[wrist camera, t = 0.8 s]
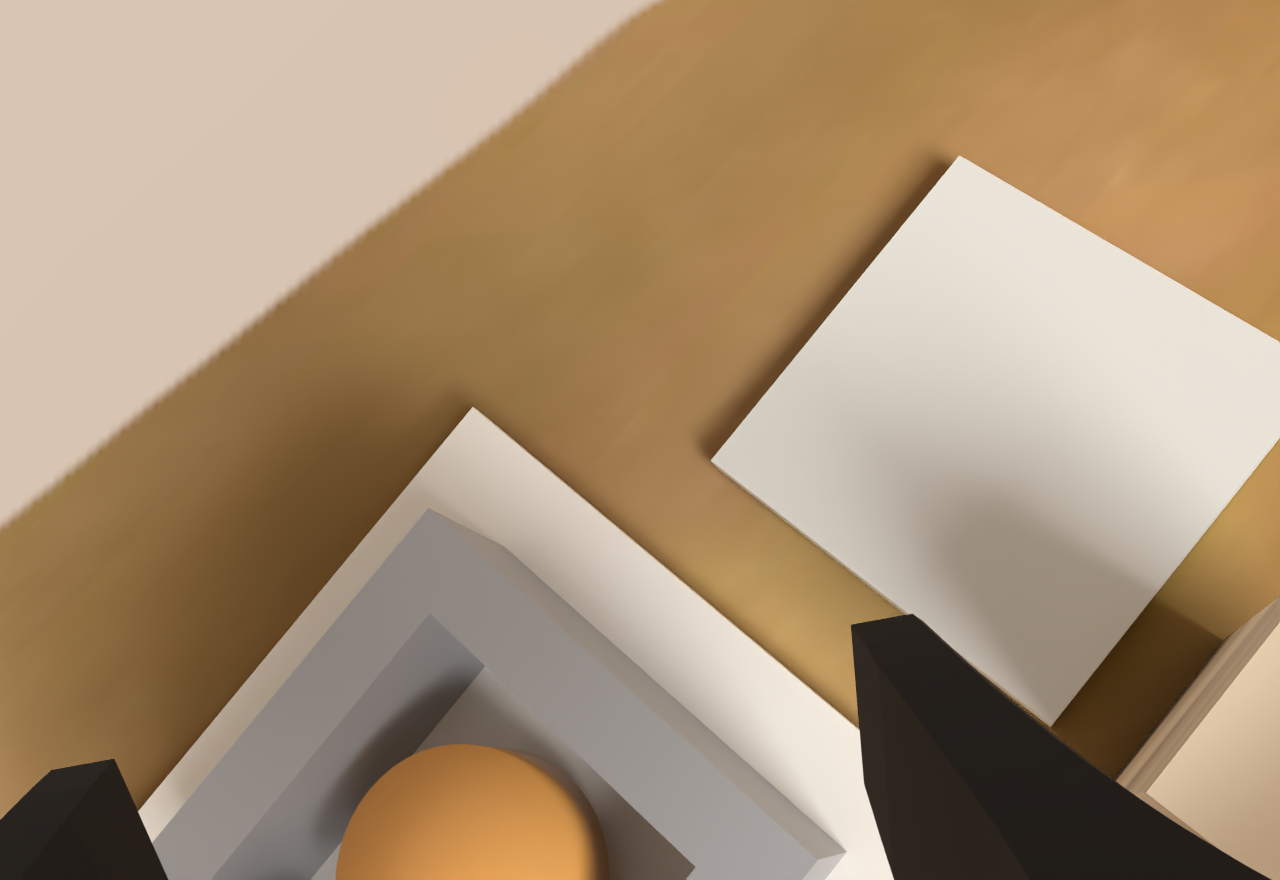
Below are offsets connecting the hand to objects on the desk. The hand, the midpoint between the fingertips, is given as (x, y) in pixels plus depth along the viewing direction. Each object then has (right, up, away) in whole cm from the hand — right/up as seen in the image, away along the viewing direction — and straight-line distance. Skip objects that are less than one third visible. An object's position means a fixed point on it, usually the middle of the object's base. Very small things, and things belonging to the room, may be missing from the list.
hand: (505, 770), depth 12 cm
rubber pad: (+9, +3, +15) cm, 18 cm away
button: (-2, -6, +13) cm, 14 cm away
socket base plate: (-1, -6, +15) cm, 16 cm away
